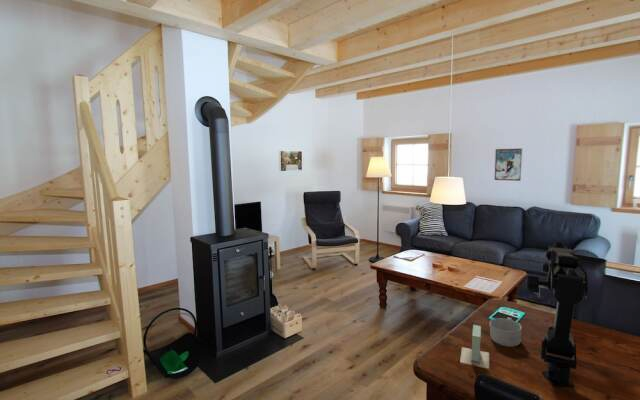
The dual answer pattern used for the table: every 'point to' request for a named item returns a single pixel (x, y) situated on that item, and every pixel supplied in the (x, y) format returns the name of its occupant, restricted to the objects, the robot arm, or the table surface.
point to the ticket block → (467, 355)
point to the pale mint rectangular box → (476, 344)
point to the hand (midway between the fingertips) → (553, 299)
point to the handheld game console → (507, 314)
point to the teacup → (505, 332)
